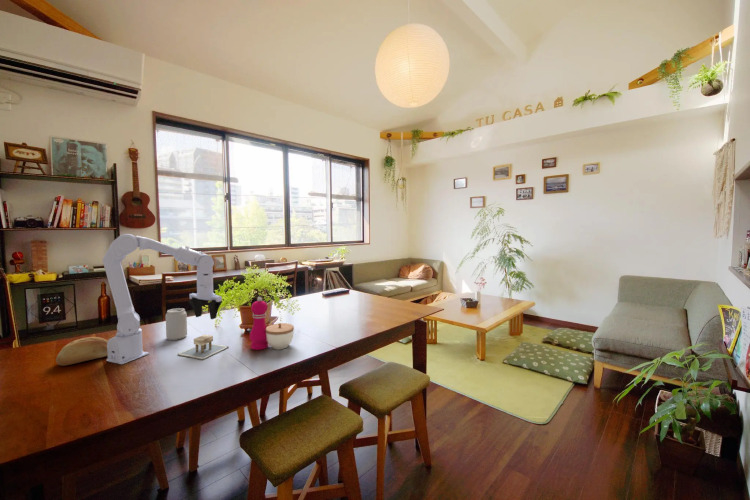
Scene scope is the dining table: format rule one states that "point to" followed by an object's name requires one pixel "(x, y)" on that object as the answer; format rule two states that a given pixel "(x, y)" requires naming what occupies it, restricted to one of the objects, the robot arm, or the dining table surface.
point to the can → (176, 324)
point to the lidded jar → (279, 335)
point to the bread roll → (82, 350)
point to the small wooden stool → (203, 342)
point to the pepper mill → (259, 325)
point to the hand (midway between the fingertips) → (205, 317)
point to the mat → (207, 351)
